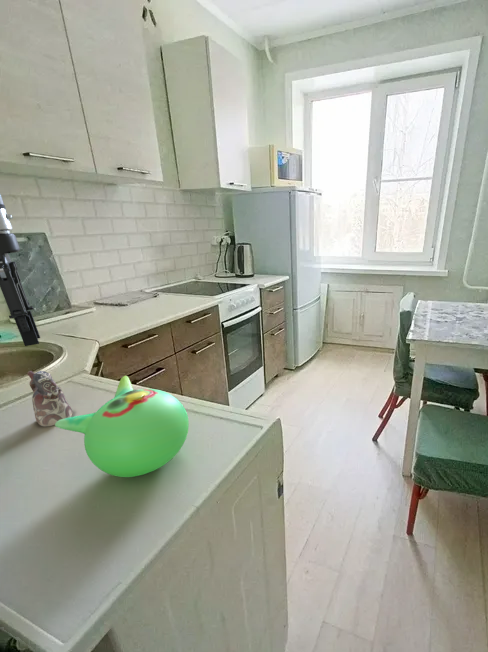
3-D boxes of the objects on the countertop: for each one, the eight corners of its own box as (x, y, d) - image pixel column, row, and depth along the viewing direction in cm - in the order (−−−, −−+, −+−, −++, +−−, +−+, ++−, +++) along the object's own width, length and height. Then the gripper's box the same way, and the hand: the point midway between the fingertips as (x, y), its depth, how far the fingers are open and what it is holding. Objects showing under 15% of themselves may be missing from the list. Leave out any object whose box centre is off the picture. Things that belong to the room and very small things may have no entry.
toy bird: (149, 505, 56) (127, 426, 50) (71, 483, 61) (42, 410, 55) (209, 442, 71) (198, 375, 65) (142, 429, 77) (126, 366, 70)
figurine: (53, 428, 79) (34, 379, 73) (30, 424, 81) (10, 376, 76) (79, 412, 85) (63, 366, 80) (57, 409, 87) (40, 364, 82)
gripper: (9, 232, 67) (50, 348, 77) (18, 231, 81) (52, 329, 91) (-42, 235, 64) (9, 356, 74) (-23, 233, 77) (17, 335, 88)
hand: (32, 341), depth 82 cm, fingers open, 4 cm apart
